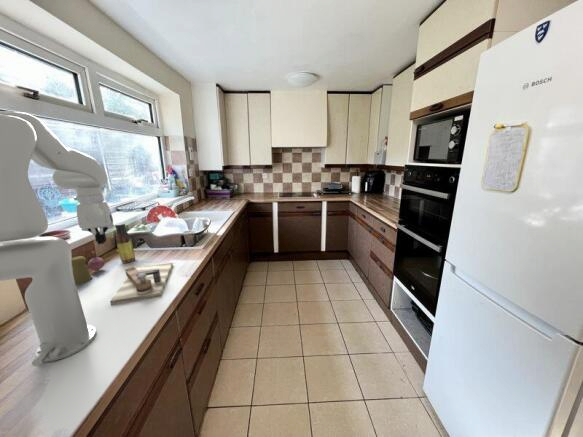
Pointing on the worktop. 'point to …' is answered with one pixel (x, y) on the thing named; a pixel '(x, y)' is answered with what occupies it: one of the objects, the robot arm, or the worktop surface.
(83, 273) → the olive green tapered block
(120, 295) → the pivot board
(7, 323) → the worktop surface
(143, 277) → the link
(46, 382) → the worktop surface
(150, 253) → the worktop surface
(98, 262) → the vegetable
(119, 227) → the sauce bottle
